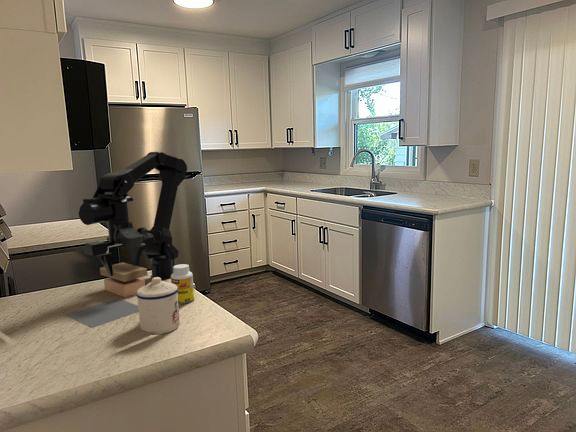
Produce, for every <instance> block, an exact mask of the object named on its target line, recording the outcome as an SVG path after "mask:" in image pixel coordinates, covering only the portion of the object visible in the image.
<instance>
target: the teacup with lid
mask: <svg viewBox="0 0 576 432" xmlns="http://www.w3.org/2000/svg"><path fill="white" fill-rule="evenodd" d="M177 292H178V287H177V286H176V285H175V284H172V283H171V282H167V281H165V280H161V278H160V277H154V278H151V282H149V283H147V284H145V286H143V287H141V288H140V289H138V291H137V293H136V294H135V296H136V297H137V305H138V308H139V312H138V315H139V317H138V318H139V328H140V330H141V331H144V332H147V333H151V335H153V336H154V335H156V336H157V335H164V334H167V333H170V332H173V331H175V330H176V329H178V327H180V324H181V322H180V308H179V307H180V306H179V305H178V293H177Z"/></svg>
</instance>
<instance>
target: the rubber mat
mask: <svg viewBox="0 0 576 432" xmlns="http://www.w3.org/2000/svg"><path fill="white" fill-rule="evenodd" d="M137 313H139V308H138V304H134V303H131V302H129V301H126V300H124V299H121V298H114V299H112V300H108V301H105V302H104V301H103V302H102V303H98V304H95V305H91V306H89V307H84V308H82V309H78V310H75V311H71V312H69V313H64V315H65V316H66V317H68V318H70V319H72V320H74V321H76V322H79V323H80V324H82V325H84V326H87V327H89V328H91V329H93V328H95V327H99V326H102V325H104V324H108V323H111V322H113V321H116V320H119V319H122V318H125V317H129V316H131V315H134V314H137Z"/></svg>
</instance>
